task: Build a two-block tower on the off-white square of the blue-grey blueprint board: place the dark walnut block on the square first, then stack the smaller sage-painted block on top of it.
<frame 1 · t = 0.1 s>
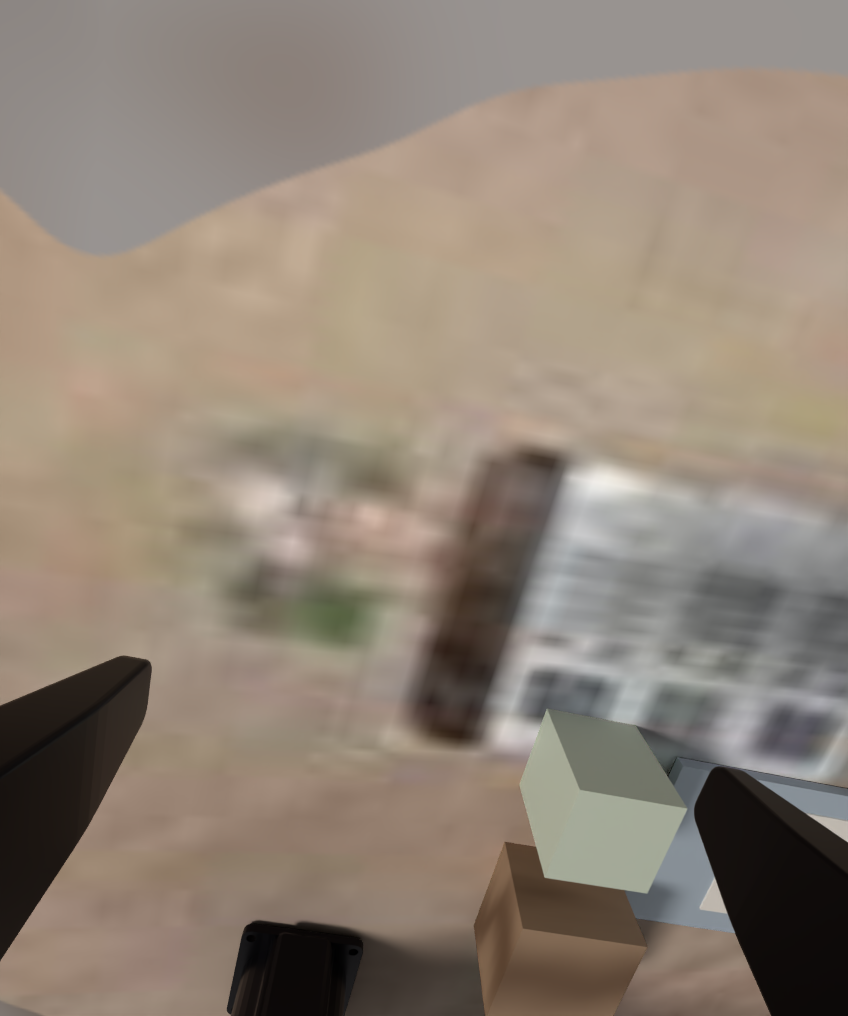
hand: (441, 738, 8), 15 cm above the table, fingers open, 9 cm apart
walnut block: (540, 890, 29), on the table
blueprint board: (745, 851, 29), on the table
sage block: (576, 754, 26), on the table
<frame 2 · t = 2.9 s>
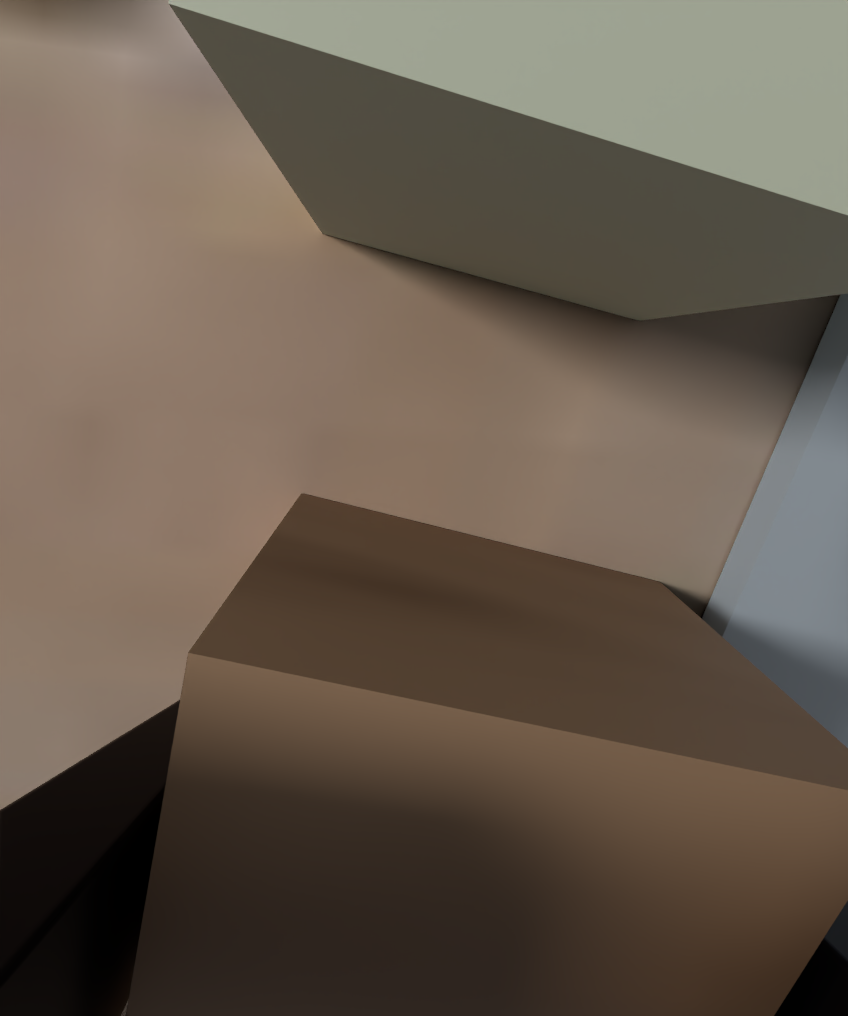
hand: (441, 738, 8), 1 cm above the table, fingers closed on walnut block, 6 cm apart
walnut block: (437, 697, 9), on the table, touching gripper
sage block: (533, 92, 7), on the table
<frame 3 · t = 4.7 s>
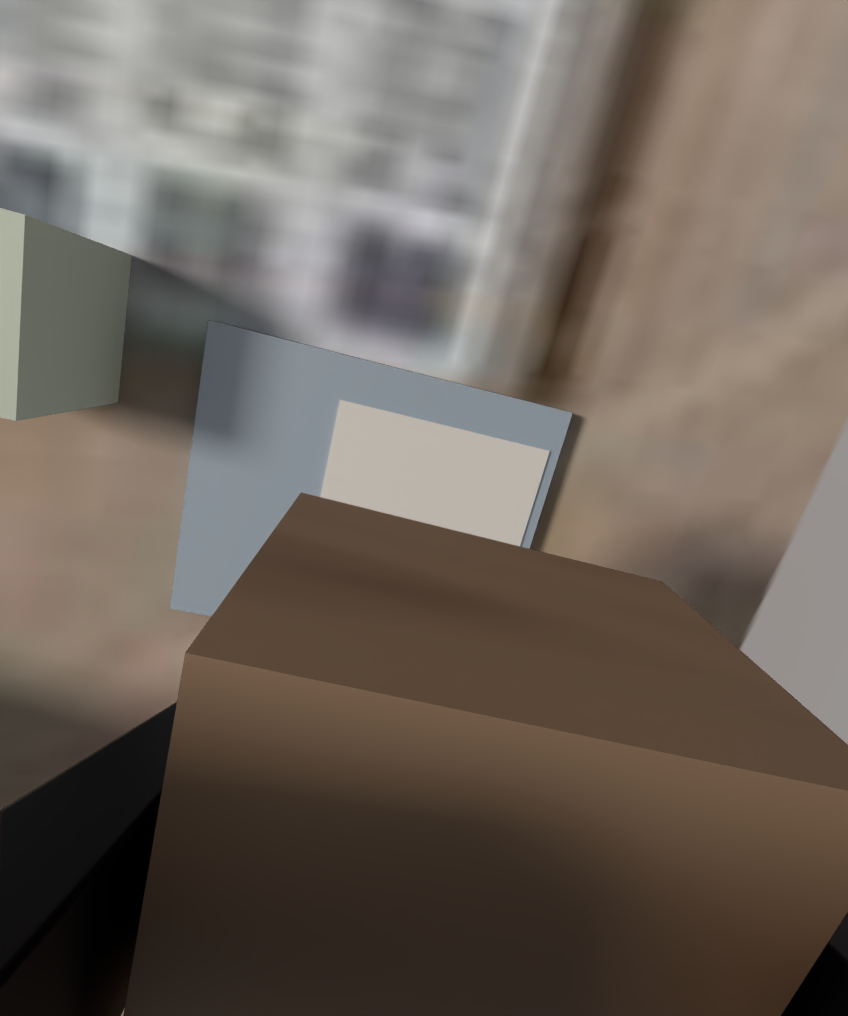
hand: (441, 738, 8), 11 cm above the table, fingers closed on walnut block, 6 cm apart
walnut block: (437, 697, 9), point 10 cm above the table, touching gripper
blueprint board: (365, 508, 19), on the table
sage block: (49, 313, 17), on the table
when the fingers open (3 cm above the table, at t = 6.7 s): walnut block drops 1 cm, resting on blueprint board.
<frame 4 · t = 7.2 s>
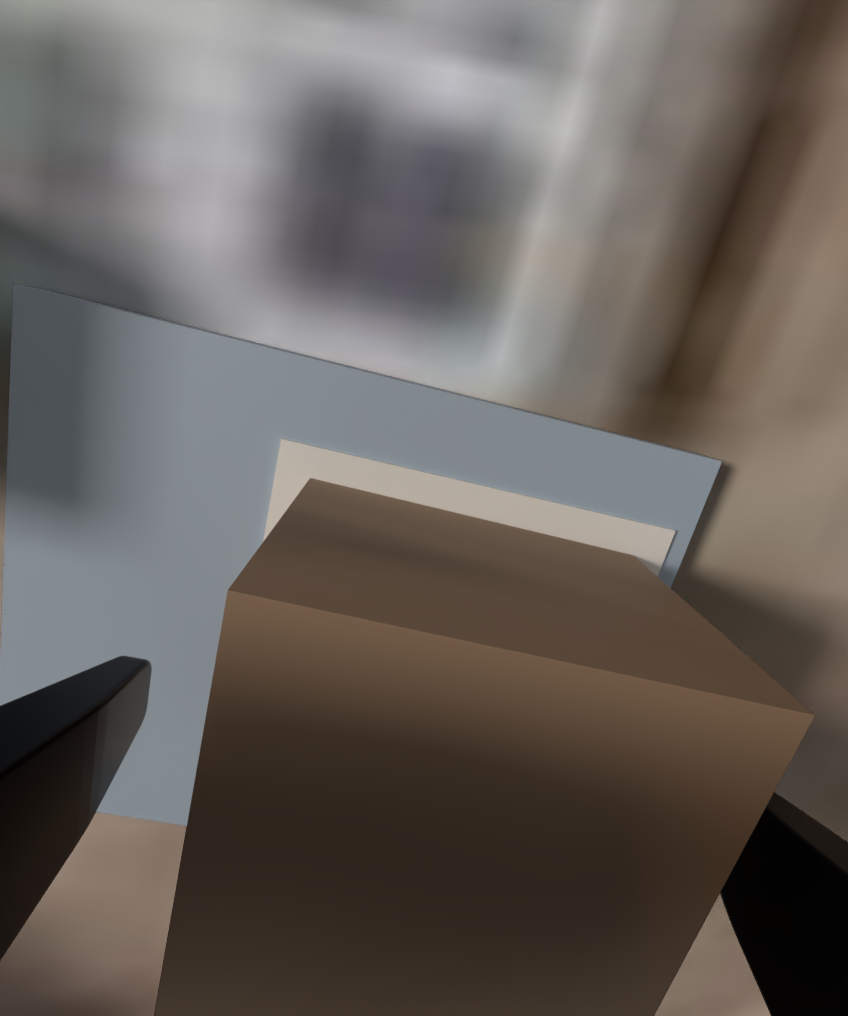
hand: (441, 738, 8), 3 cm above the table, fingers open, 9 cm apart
walnut block: (433, 661, 10), point 1 cm above the table, touching blueprint board
blueprint board: (337, 624, 11), on the table
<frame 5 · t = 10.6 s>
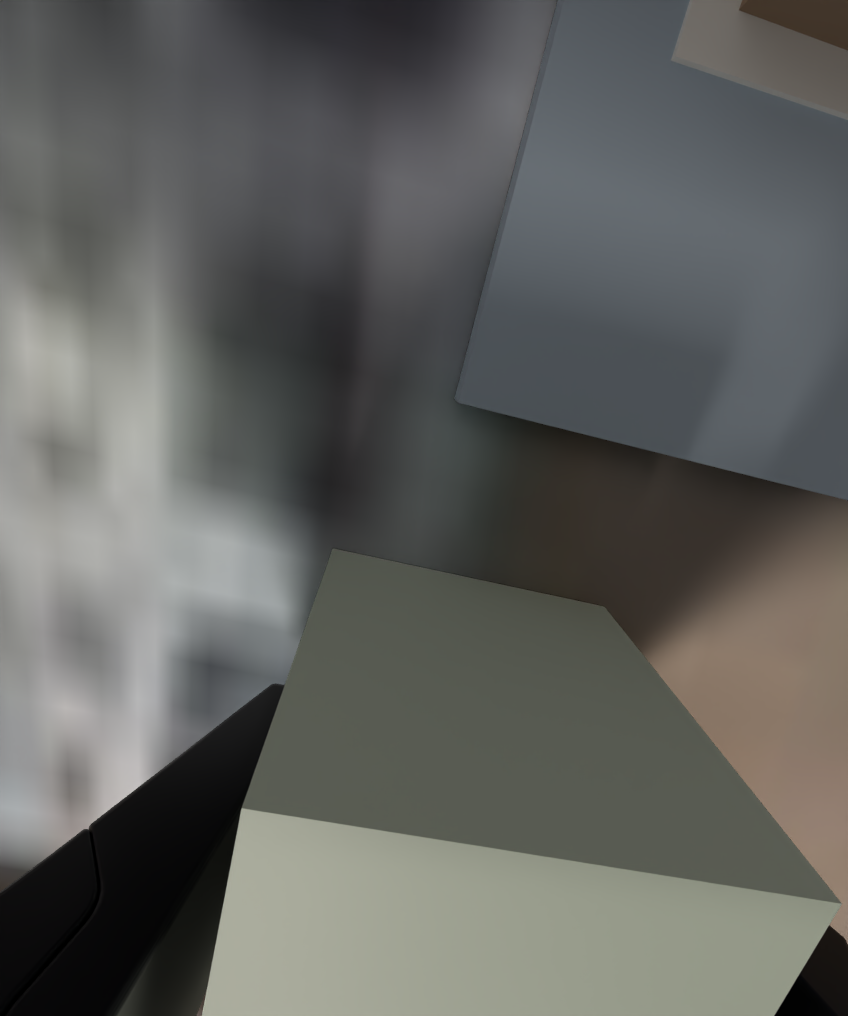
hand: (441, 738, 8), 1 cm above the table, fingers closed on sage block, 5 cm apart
sage block: (437, 697, 9), on the table, touching gripper
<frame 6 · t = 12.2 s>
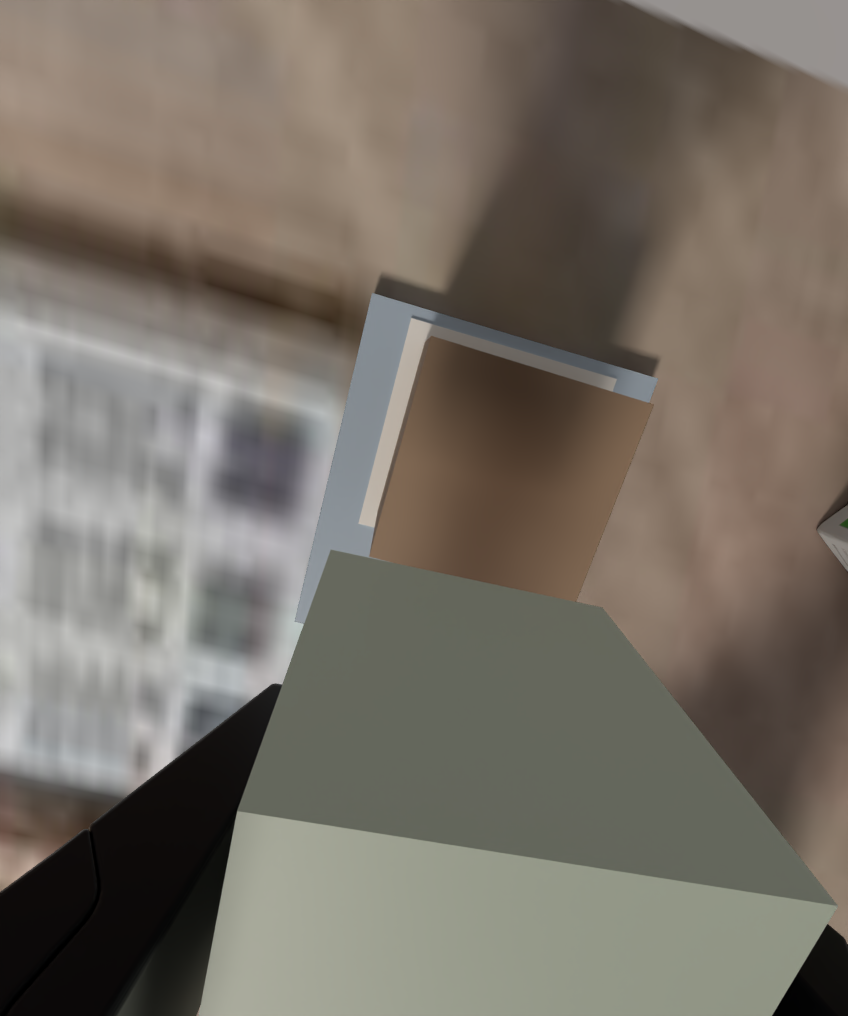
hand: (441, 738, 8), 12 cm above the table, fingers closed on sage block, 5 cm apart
walnut block: (483, 454, 18), point 1 cm above the table, touching blueprint board
blueprint board: (465, 501, 20), on the table
sage block: (435, 698, 9), point 11 cm above the table, touching gripper
when the fingers open (7 cm above the table, at t = 13.7 s): sage block drops 1 cm, resting on walnut block.
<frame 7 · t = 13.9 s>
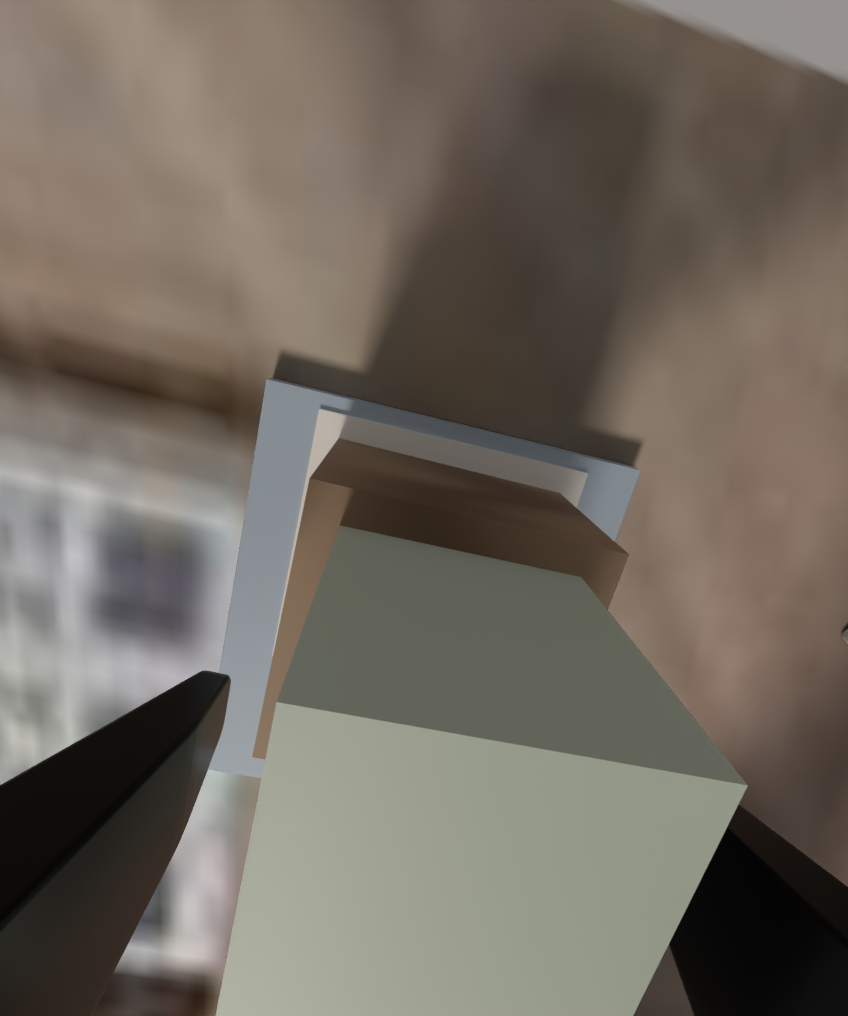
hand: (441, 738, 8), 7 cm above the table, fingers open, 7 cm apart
walnut block: (423, 569, 15), point 1 cm above the table, touching blueprint board, sage block
blueprint board: (406, 619, 16), on the table
sage block: (433, 659, 10), point 5 cm above the table, touching walnut block
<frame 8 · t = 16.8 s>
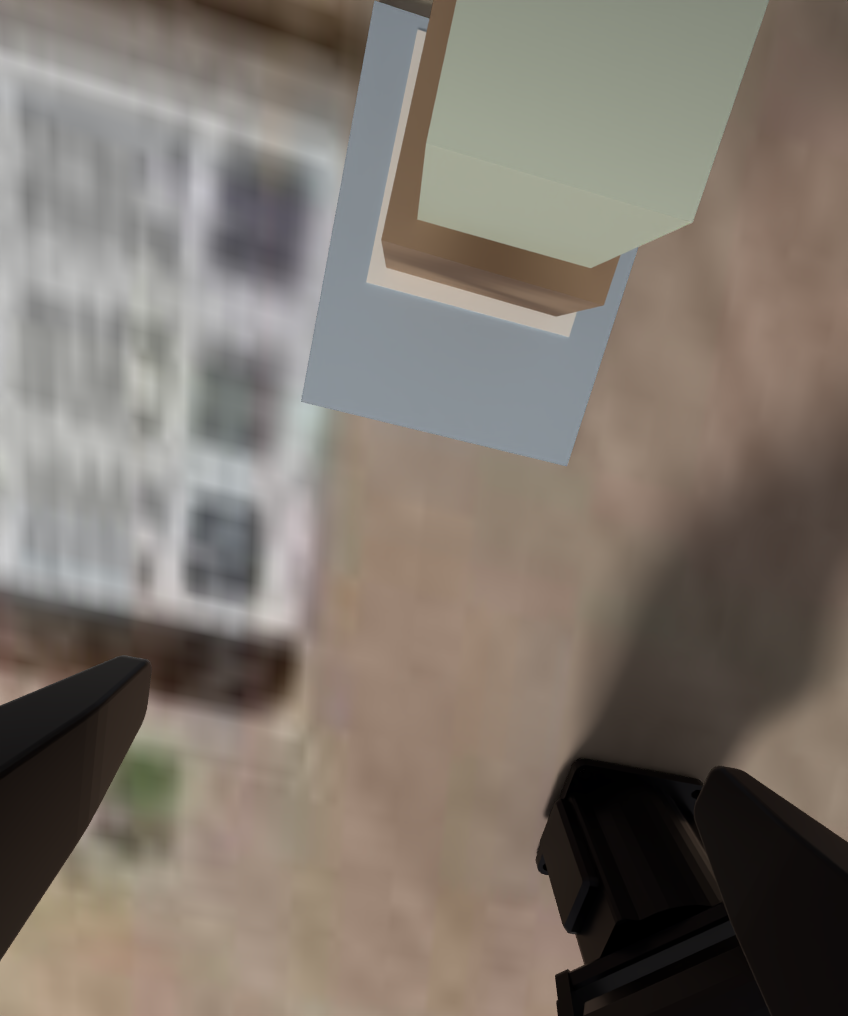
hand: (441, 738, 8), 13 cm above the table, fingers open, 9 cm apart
walnut block: (498, 196, 17), point 1 cm above the table, touching blueprint board, sage block
blueprint board: (479, 263, 18), on the table
sage block: (531, 142, 13), point 5 cm above the table, touching walnut block
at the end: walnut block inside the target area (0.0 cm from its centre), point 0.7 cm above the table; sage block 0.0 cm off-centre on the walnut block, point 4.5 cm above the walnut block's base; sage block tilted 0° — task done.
